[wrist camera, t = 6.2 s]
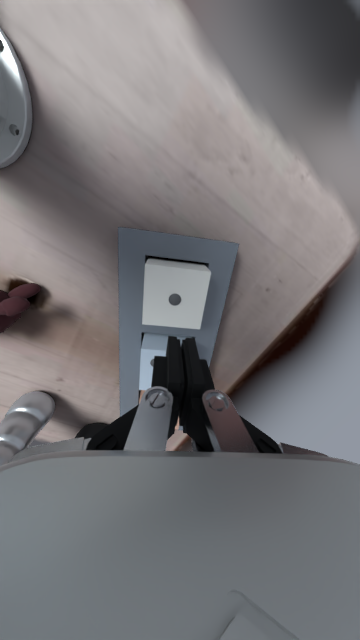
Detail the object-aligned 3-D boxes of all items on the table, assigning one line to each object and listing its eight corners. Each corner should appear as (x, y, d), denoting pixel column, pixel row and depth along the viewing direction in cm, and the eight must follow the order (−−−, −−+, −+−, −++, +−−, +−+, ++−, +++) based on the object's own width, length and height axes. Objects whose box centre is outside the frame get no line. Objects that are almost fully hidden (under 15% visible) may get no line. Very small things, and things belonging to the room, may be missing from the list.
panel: (123, 227, 24) (118, 227, 21) (231, 242, 25) (239, 243, 22) (123, 414, 38) (120, 428, 35) (192, 416, 40) (193, 430, 37)
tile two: (144, 331, 28) (140, 349, 24) (191, 335, 29) (195, 353, 25) (142, 368, 31) (138, 390, 27) (185, 371, 32) (187, 393, 28)
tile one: (149, 257, 24) (144, 264, 19) (204, 264, 24) (211, 272, 20) (146, 309, 27) (142, 324, 22) (195, 314, 27) (200, 329, 23)
